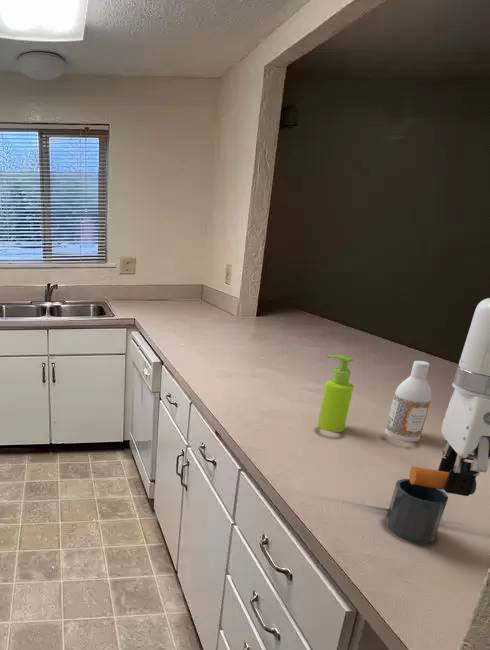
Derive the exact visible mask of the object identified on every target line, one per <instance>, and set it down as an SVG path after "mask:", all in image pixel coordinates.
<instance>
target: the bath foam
mask: <svg viewBox="0 0 490 650" xmlns="http://www.w3.org/2000/svg"><path fill="white" fill-rule="evenodd" d="M430 366H431V364H430V362H428V361H424V360H414V361H413V364H412V367H411V370H410V371H411V372H410V375H409V376H408V377H406V378H405V379H404V380H403V381H402V382H401V383H400V384H399V385H398V387H397V388H396V390H395V392H394V396H393V398H392V402H391V406H390V410H389V414H388V418H387V421H386V426H385V430H384V433H385V434H386V436H389V437H390V438H393V439H396V440H399V441H403V442H410V443H411V442H418V441H420V438H421V436H422V432H423V430H424V425H425V422H426V419H427V415H428V412H429V408H430V405H431V401H432V388H431V387H430V384H429V382H428V379H427V376H428V372H429V368H430Z"/></svg>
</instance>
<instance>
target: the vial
mask: <svg viewBox="0 0 490 650" xmlns="http://www.w3.org/2000/svg"><path fill="white" fill-rule="evenodd" d="M448 475H449V472H445V471H439V470H438V469H431V468H427V467H420V466H412V467H411V468H410V470H409V478H408V479H410V483H411V484H413V485H419V486H424V487H430V488H436V489H441V490H442V491H445V490H444V487H445V484H446V481H447V478H448ZM476 479H477V478H475V481H474V484H473V487H472V490H471V492H470V495H469V496H471V495H473V494H475V493H476V490H477V480H476Z"/></svg>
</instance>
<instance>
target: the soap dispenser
mask: <svg viewBox="0 0 490 650" xmlns="http://www.w3.org/2000/svg"><path fill="white" fill-rule="evenodd" d="M326 357H327V358H328V359H330V358H331V359H335V360H336V359H337V360H340V361H339V365H338V366H339V367H337V368H334V371H333V376H332V379H328V380H326V381H325V387H324V391H323V397H322V401H321V407H320V412H319V418H318V422H317V426H318V428H320V429H322V430H325V431H327V432H333V433H341V432H343V431H344V430H345V427H346V422H347V418H348V414H349V410H350V405H351V400H352V395H353V391H354V388H355V387H354V384H353V383H351V382H349V381H350V376H351V370H350V369H348V368H349V367H348V366H349V363H350V362H353V360H354V357H351V356H347V355H343V354H337V353H336V354H335V353H331V354H328V355H326Z"/></svg>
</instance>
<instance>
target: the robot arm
mask: <svg viewBox="0 0 490 650" xmlns="http://www.w3.org/2000/svg"><path fill="white" fill-rule="evenodd" d="M451 387H452V388H453V389H454V390H453V393H452V395H451V398H450V400H449V403H448V406H447V408H446V411H445V414H444V417H443V421H442V425H441V428H440V429H441V430H440V431H441V434H442V436H443V438H444V439H445V441H444V443H445V445H444V448H443V451H442V457H441V460H440V463H439V467H438V469H437V470H439V471H445V472H449V475H448V478H447V481H446V484H445V487H444V490H443V491H444V492H445V493H446V494H451V495H452V494H453V495H458V496H463V497H469V496H471V495H470V492H471V490H472V487H473V484H474V481H475V479H477V477H479V474H480V473H487V471H488V465H489V460H490V297H488V298H484V299H482V300H481V301H480V302H479V303H477V305H476V308H475V310H474V312H473V316H472V319H471V323H470V327H469V330H468V333H467V335H466V339H465V342H464V345H463V349H462V352H461V355H460V358H459V362H458V366H457V368H456V371H455V375H454V378H453V380H452V385H451ZM466 460H468V461H466ZM469 461H471V462H469Z"/></svg>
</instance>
